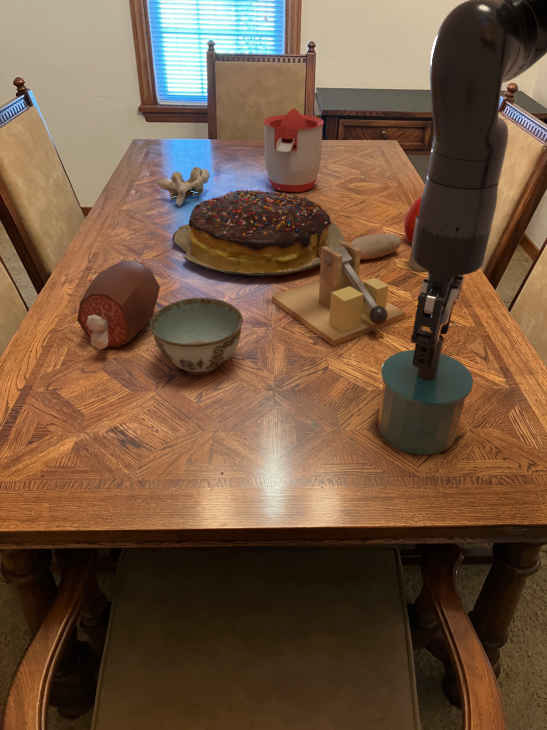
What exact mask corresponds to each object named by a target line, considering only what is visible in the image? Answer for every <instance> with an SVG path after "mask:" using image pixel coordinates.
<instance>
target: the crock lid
mask: <svg viewBox="0 0 547 730" xmlns="http://www.w3.org/2000/svg"><path fill="white" fill-rule="evenodd" d="M439 337H440V338H439V342H437V345H436V350H435V355H434V360H433V365H432V367H431V369H429V370H426V369H422V368H418V367H415V366H414V365H413V357H414V351H415V349H408V350H403V351H399V352H396V353H394V354H392V355H390V356H389V357H388V358H387V359H386V360H384V362H383V363H382V366H381V369H380V377H381V380H382V383H383V382H384V384H385V385H386V386H387V387H388V389H389V390H391V391H392V392H393V393H394V394H396V395H397V396H399V397H401V398H403V399H405V400H408V401H410V402H413V403H417V404H421V405H428V406H445V405H451V404H454V403H457V402H459V401H461V400H463V399H465V398H466V399H467V397H468V396H469V395H470V394H471V393H472V390H473V385H474V378H473V376H472V374H471V371H470V370H469V369H468V367H466V366H465V365H464V364H463V363H462V362H461V361H459V360H458V359H455V358H454V357H453V356H450V355H447V354H445V353H442V351H443V347H444V343H445V337H444V336H443V334H440V335H439ZM466 399H465V400H466Z"/></svg>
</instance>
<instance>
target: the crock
mask: <svg viewBox="0 0 547 730" xmlns="http://www.w3.org/2000/svg"><path fill="white" fill-rule="evenodd" d="M466 399H467V397H466V398H465V399H463V400H461V401H459V402H457V403H454V404H451V405H445V406H428V405H421V404H417V403H413V402H410V401H408V400H405V399H403V398H401V397H399V396H397V395H396V394H394V393H393V392H392V391H391V390H389V389H388V387H387V386H386V385H385V384H384V382H383V381H382V388H381V395H380V403H379V409H378V416H377V417H378V418H377V421H378V422H377V425H378V426H377V427H378V431H379V434H380V435H381V436H382V437H383V439H384V440H385V441H386V442H387V443H388V444H390V445H391V446H392V447H394V448H395V449H397V450H400V451H402V452H405V453H408V454H413V455H417V456H418V455H420V456H430V455H431V456H433V455H437V454H440V453H443V452H445V451H446V450H448V449H450V448H451V446H452V445H453V444H454V442H455V440H456V437H457V434H458V431H459V427H460V423H461V418H462V414H463V411H464V407H465V403H466Z"/></svg>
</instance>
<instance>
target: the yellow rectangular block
mask: <svg viewBox="0 0 547 730" xmlns="http://www.w3.org/2000/svg"><path fill="white" fill-rule="evenodd" d="M363 285H364V286H365V288H366V289H367V291H368V292H369V294H370V295H371V297H372V298H373V300H374V301H375V303H376V304H377V306H382V307H384V308H385V309H386V302H388V294H389V284H387V283H385V282H384V281H382V280H380V279H378V278H377V277H372V278H370V279H367V280H364V281H363ZM362 313H363V314H364V315H366V316H367V317H369V313H370V310H369V308H368V307H367V305H366V304H365V302H364V301H363V304H362Z"/></svg>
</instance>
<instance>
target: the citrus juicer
mask: <svg viewBox="0 0 547 730" xmlns="http://www.w3.org/2000/svg"><path fill="white" fill-rule="evenodd" d="M262 123H263V125H264V161H265V162H264V164H265V169H266V174H267V177H268V182H269V184H270V183H271V184H270V186H271V188H273V189H274V190H275V191H279V192H280V191H281V192H286V193H304V192H306V191H309V190H311V189H313V187H314V185H315V183H316V181H317V177H318V175H319V172H320V167H321V163H322V162H321V161H322V147H323V145H322V144H323V128H324V127H323V125H324V124H325V121H324V120H323V119H322V118H320V117H317V116H313V115H307V114H301V113H300V112H299V111H298V110H297V109H296V108H291V109H290V110H289V111H288V112H287V114H278V115H272V116H269V117H266V118H264V120H263V122H262ZM279 188H280V189H279Z"/></svg>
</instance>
